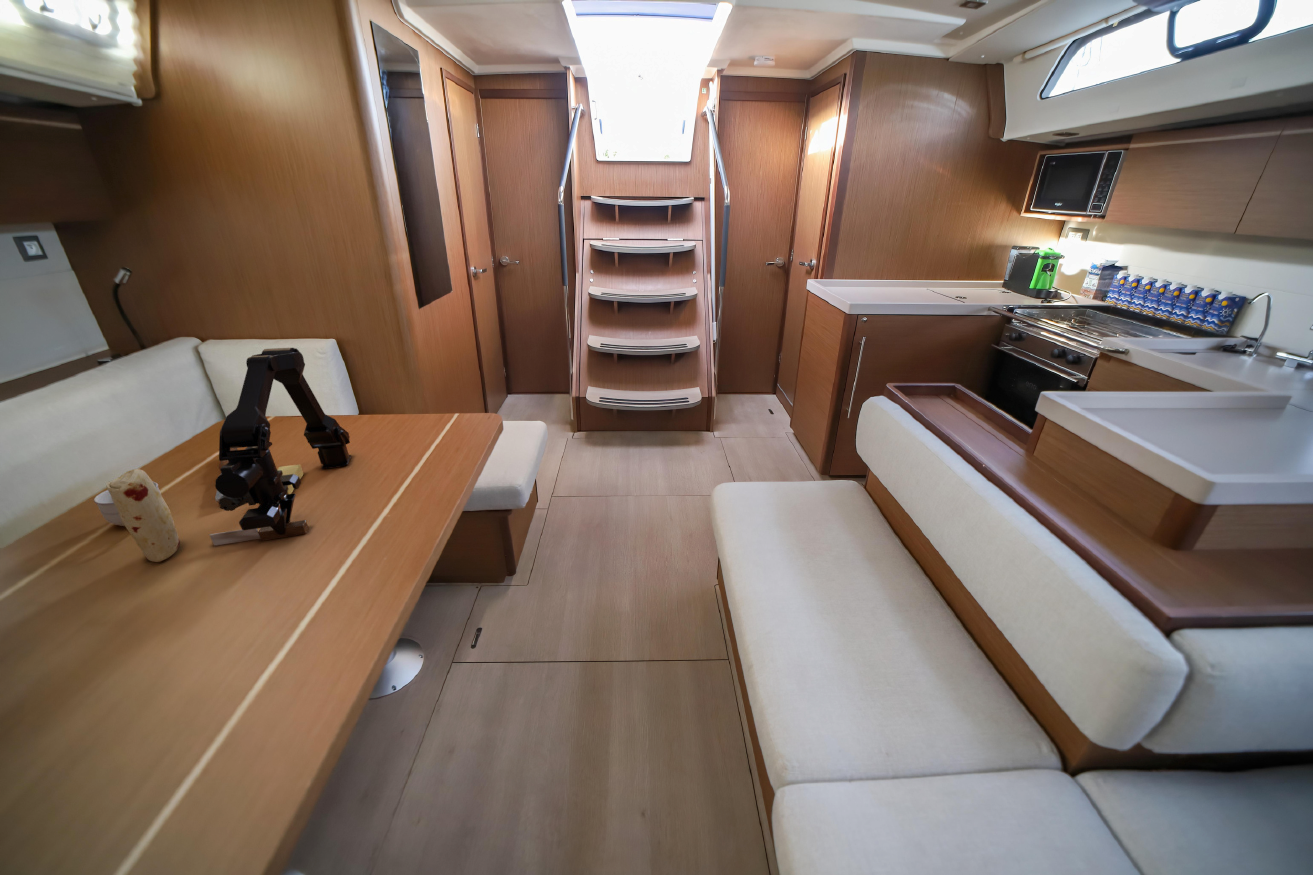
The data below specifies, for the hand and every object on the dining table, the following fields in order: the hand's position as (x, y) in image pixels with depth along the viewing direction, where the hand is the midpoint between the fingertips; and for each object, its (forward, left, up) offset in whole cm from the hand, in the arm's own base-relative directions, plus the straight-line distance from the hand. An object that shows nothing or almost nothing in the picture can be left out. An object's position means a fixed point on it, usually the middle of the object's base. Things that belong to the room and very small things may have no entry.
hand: (284, 530), depth 117 cm
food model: (+23, 0, -1) cm, 23 cm away
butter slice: (+7, -20, -1) cm, 21 cm away
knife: (+5, 0, -1) cm, 5 cm away
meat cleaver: (+20, -35, -1) cm, 40 cm away
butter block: (+7, -27, -1) cm, 28 cm away
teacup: (+35, -16, -1) cm, 39 cm away
